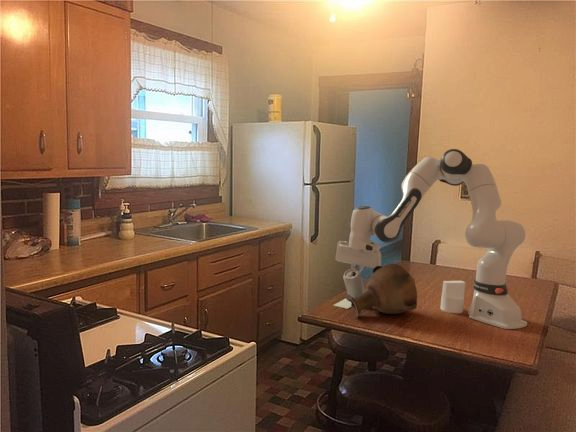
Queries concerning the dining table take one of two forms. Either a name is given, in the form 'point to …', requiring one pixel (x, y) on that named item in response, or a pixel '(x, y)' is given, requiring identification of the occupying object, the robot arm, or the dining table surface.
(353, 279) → the can
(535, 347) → the dining table surface
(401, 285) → the jug
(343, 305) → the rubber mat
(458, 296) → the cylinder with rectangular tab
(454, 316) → the dining table surface
